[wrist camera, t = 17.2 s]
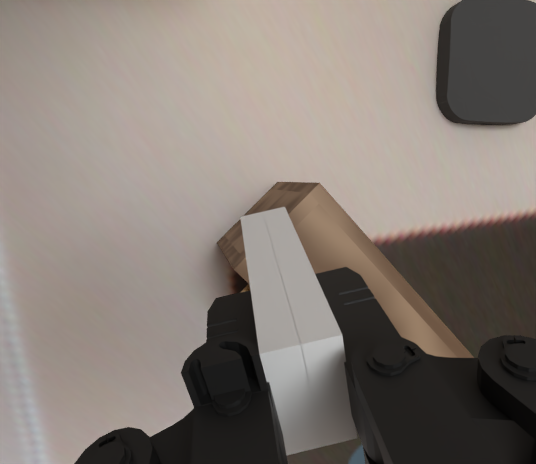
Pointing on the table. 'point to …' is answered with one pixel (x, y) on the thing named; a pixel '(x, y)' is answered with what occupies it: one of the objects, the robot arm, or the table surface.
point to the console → (348, 261)
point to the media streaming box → (488, 62)
